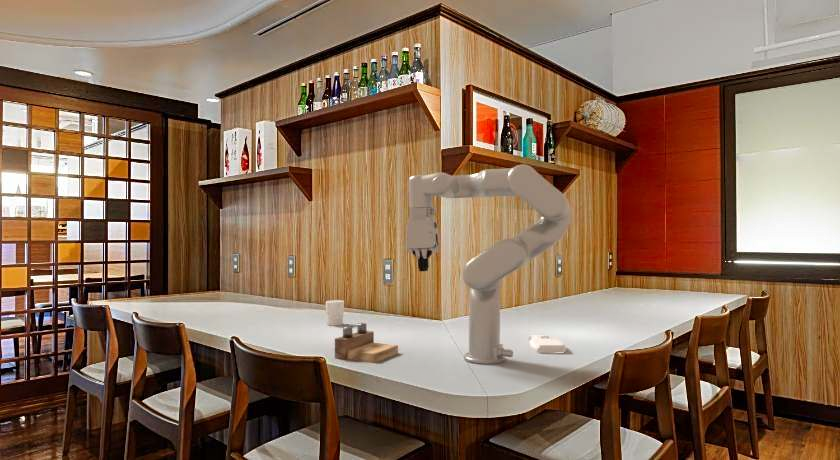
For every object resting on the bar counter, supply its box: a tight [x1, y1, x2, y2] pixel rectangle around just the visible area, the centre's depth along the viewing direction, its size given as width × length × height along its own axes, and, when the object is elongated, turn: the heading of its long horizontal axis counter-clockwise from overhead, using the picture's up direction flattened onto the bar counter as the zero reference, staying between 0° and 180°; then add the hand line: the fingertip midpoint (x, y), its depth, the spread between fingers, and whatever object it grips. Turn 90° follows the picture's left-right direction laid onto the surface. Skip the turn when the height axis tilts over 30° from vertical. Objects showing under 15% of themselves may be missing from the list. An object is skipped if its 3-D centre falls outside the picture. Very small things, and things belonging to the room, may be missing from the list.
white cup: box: [325, 299, 345, 327], centre depth 225 cm, size 8×8×10 cm
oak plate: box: [346, 342, 399, 363], centre depth 166 cm, size 10×14×3 cm
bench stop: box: [334, 322, 375, 360], centre depth 169 cm, size 4×16×9 cm, turn 152°
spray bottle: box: [528, 334, 567, 354], centre depth 182 cm, size 3×11×24 cm
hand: (423, 270), depth 168 cm, fingers closed
